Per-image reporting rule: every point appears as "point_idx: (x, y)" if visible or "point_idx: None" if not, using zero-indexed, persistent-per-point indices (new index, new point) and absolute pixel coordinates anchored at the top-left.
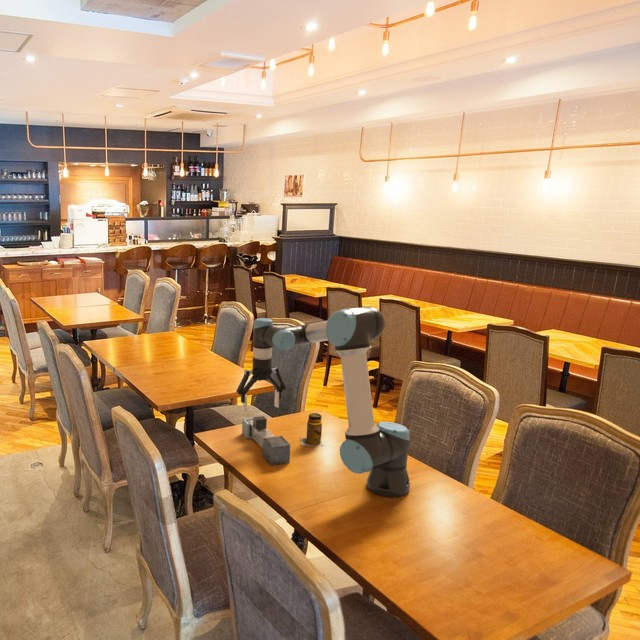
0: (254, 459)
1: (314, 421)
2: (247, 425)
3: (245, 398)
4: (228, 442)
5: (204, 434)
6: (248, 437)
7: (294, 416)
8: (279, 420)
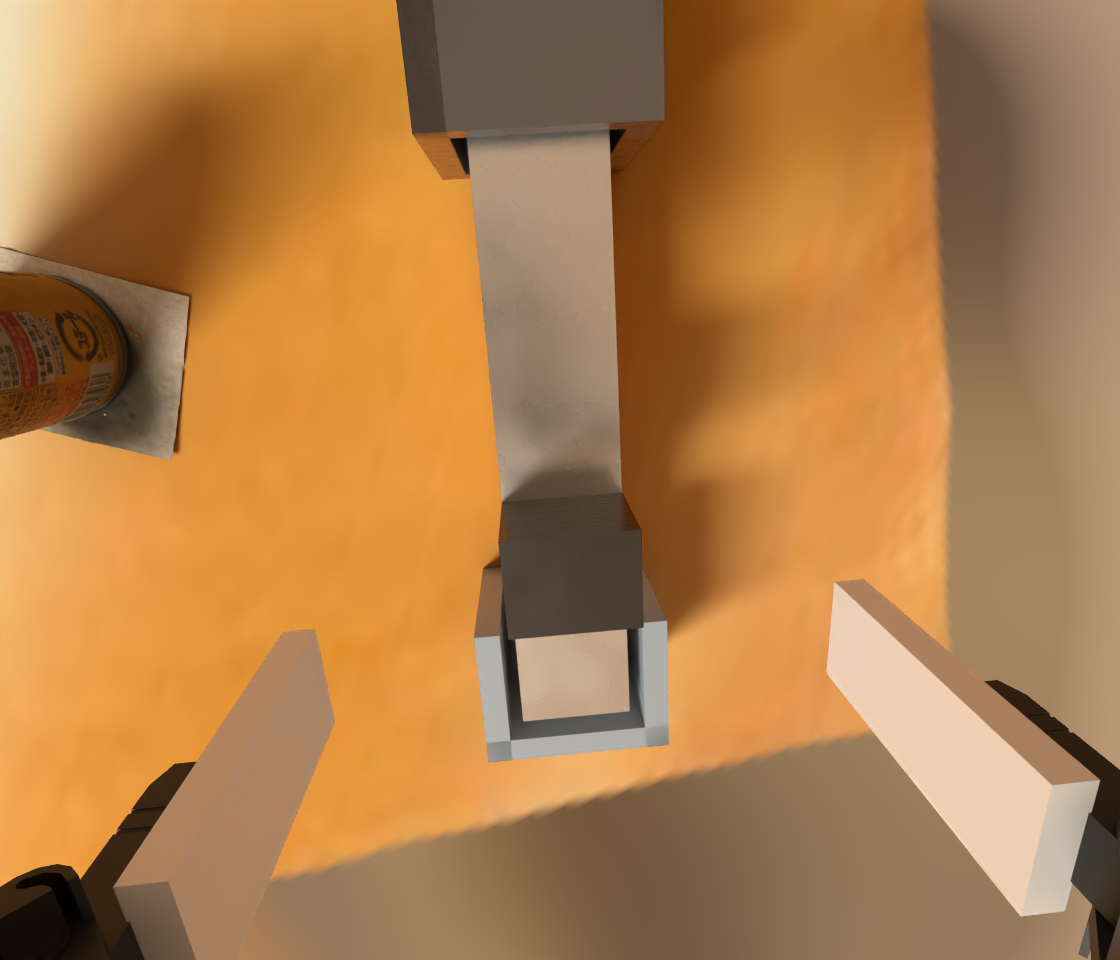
0: (715, 123)
1: None
2: (663, 615)
3: (1035, 725)
4: (797, 526)
5: None
6: None
7: None
8: None
